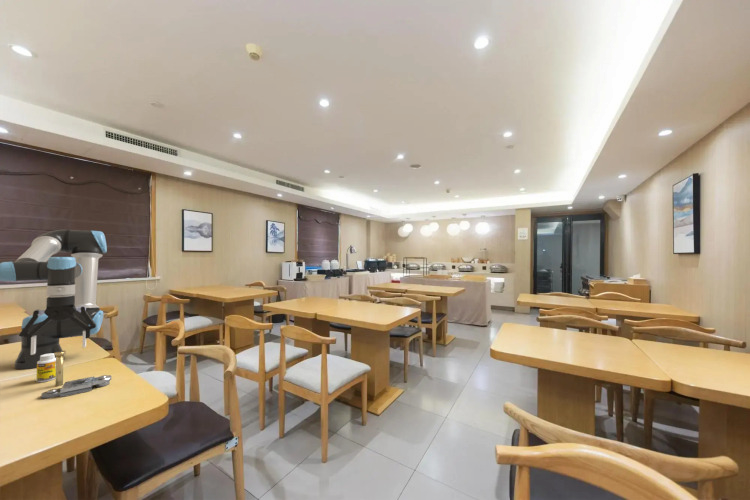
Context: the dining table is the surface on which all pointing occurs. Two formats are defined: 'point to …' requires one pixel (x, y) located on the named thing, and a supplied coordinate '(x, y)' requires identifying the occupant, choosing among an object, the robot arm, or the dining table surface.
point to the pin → (59, 367)
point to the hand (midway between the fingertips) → (59, 350)
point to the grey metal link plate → (77, 386)
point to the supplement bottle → (46, 368)
